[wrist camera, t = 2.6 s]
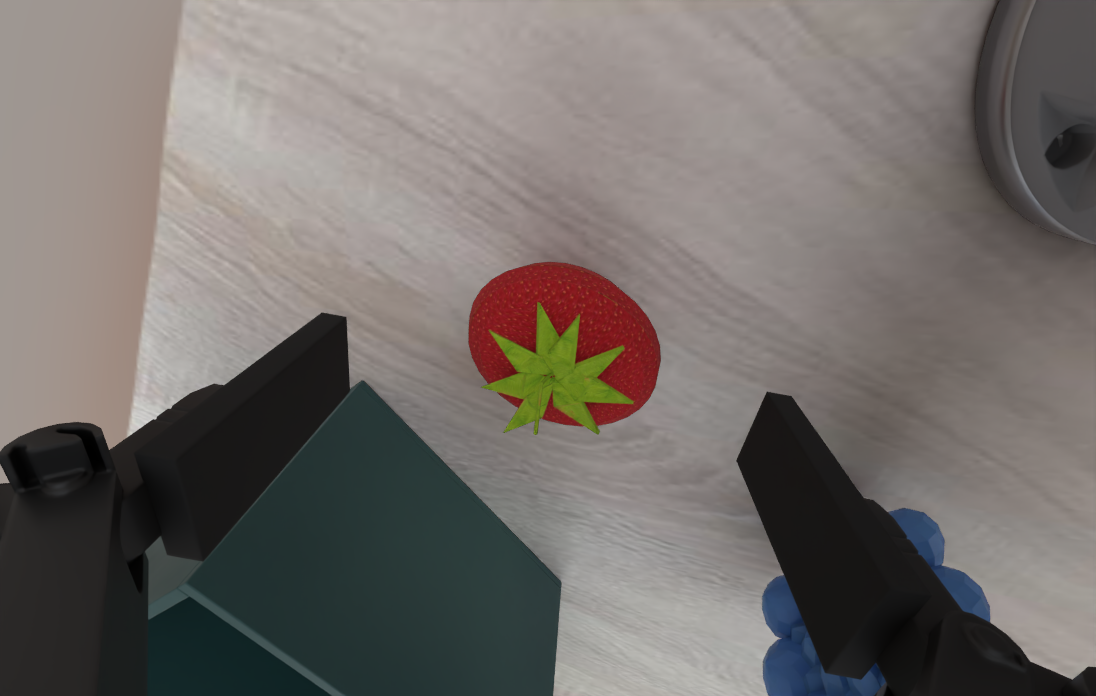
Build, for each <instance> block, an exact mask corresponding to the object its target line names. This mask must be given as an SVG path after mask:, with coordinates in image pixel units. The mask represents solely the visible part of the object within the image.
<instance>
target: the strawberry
mask: <svg viewBox="0 0 1096 696" xmlns="http://www.w3.org/2000/svg"><path fill="white" fill-rule="evenodd" d="M469 347H470V351H471V355H472V358H473V360H474V362H475V364H476V366H477V368H478V370H479V372H480V373H481V375H482V376H483V377H484V379H485V380H486V381H487V383H488V385H485V386H483V387H482V388H485V389H489V390H492V391H496V392H497V393H498V394H499V395H500V396H502V397H503V398H504V399H506V400H507V401H509V402H510V403H511V404H513V405H514V406H516V407H518V410H517V412H516V413H515V415H514V416H513V418H512V420H511V421H510V423H509V424H508V426H507V427H506V429H505V431H504V432H503V433H505V432H507V431H510V430H512V429H515V428H518V427H520V426H523V425H525V424H528V423H530V422H533V421H535V425H534V433H533V434H535V435H537V433H538V425H539V419H541V418H542V419H544V420H547V421H551V422H555V423H559V424H564V425H573V426H585V427H587V428H588V429H590V430H591V431H593V432H594V433H596V434H599V432H600V431H599V429H598V427H597V426H599V425H604V424H609V423H614V422H616V421H619V420H621V419H624V418H626V417H628V416H630V415H631V414H633V413H634V412H636V411H637V410H639V409H640V408H641V407H642V406H643V405H644V404H645V403H646V402H647V400H648V399H649V398H650V396H651V394H652V392H653V390H654V388H655V385H656V381H657V376H658V371H659V366H660V362H661V356H660V344H659V341H658V338H657V335H656V331H655V329H654V328H653V326H652V324H651V322H650V320H649V319H648V317H647V315H646V314H645V313H644V312H643V311H642V309H641V308H640V307H639V306H638V305H637V304H636V302H635V301H634V300H632V299H631V298H630V297H629V296H628V295H626V294H625V293H624V292H623V291H622V290H620V289H619V288H618V287H617V286H616V285H614V284H613V283H612V282H611V281H609V280H607V279H606V278H604V277H602V276H601V275H599V274H597V273H595V272H593V271H590V270H588V269H585V268H583V267H579V266H575V265H571V264H567V263H557V262H544V263H534V264H530V265H527V266H523V267H519V268H516V269H513V270H509V271H506V272H504V273H503V274H501V275H499V276H497V277H495V278H494V279H492V280H491V281H490V282H489V283H488V284H487V285H486V286H484V287H483V288H482V289H481V290H480V292H479V294H478V295H477V297H476V299H475V300H474V302H473V305H472V309H471V313H470V318H469Z"/></svg>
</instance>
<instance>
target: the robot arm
mask: <svg viewBox="0 0 1096 696" xmlns="http://www.w3.org/2000/svg"><path fill="white" fill-rule="evenodd" d="M975 123H976V130H977V138H978V144H979V147H980V151H981V155H982V159H983V162H984V164H985V166H986V169H987V171H988V174H989V176H990V178H991V179H992V181H993V183H994V185H995V186H996V188H997V190H998V191H999V192H1000V194H1001V195H1002V196H1003V197H1004V199H1005V200H1006V201H1007V202H1008V203H1009V204H1010V205H1011V206H1012V207H1013V208H1014V209H1015V210H1016V211H1017V212H1018V213H1019V214H1021V215H1022V216H1024V217H1025V218H1026V219H1028V220H1029V221H1031V222H1032V223H1034V224H1036V225H1038V226H1040V227H1042V228H1044V229H1045V230H1047V231H1050V232H1053V233H1055V234H1058V235H1061V236H1064V237H1067V238H1071V239H1075V240H1078V241H1082V242H1086V243H1090V244H1094V245H1096V0H1000V1H999V3H998V5H997V8H996V11H995V14H994V16H993V19H992V22H991V25H990V27H989V30H988V34H987V37H986V41H985V44H984V48H983V52H982V55H981V61H980V66H979V72H978V77H977V86H976V97H975ZM349 392H350V382H349V361H348V341H347V320H346V317H344V316H338V315H333V314H327V313H321V314H319V315H318V316H317V317H315V318H314V319H313V320H311V321H310V322H309V323H307V324H306V325H305V326H303V327H302V328H301V329H299V330H298V331H297V332H295V333H294V334H293V335H291V336H290V337H288V338H287V339H286V340H284V341H283V342H282V343H280V344H279V345H278V346H276V347H275V348H274V349H272V350H271V351H270V352H268V353H267V354H266V355H264V356H263V357H262V358H260V359H259V360H258V361H256V362H255V363H254V364H252V365H251V366H250V367H248V368H247V369H246V370H244V371H243V372H242V373H240V374H239V375H238V376H236V377H235V378H233V379H232V380H231V381H229V382H228V383H227V384H225V385H218V384H212V385H210V386H207V387H205V388H202V389H200V390H197V391H195V392H192V393H190V394H189V395H187V396H186V397H184V398H183V399H181V400H180V401H179V402H177V403H176V404H174V405H173V406H172V408H171V409H167V410H166V411H164V412H163V413H162V414H160V415H159V416H157V419H156V420H154V419H153V420H152V421H150V422H149V423H147V424H146V425H144V426H143V427H142V428H140V429H139V430H137V431H136V432H134V433H133V434H132V435H130V436H129V437H127V438H126V439H125V440H123V441H122V442H120V443H119V444H117V445H116V446H115V447H113V448H112V449H110V450H109V449H108V446H107V443H106V440H105V438H104V435H103V432H102V429H101V428H100V427H98V426H96V425H94V424H91V423H81V422H73V423H63V424H56V425H52V426H48V427H44V428H40V429H37V430H34V431H32V432H30V433H27V434H25V435H23V436H20V437H18V438H17V439H15V440H14V441H12V442H11V443H9V444H7V445H6V446H5V447H4V448H3V449H2V450H1V451H0V464H1V466H2V468H3V470H4V472H5V474H6V476H7V478H8V480H9V482H10V483H3V484H0V696H147V675H148V586H149V561H148V558H147V555H146V553H145V551H146V550H147V549H148V548H149V547H150V546H151V545H152V544H153V543H154V542H155V541H156V540H157V539H158V538H159V537H160V536H161V538H162V541H163V544H164V547H165V550H166V553H167V555H169V556H174V557H180V558H185V559H191V560H196V561H202V562H203V561H204V560H205V559H206V558H207V557H208V556H209V554H210V553H211V552H212V551H213V550H214V549H215V548H216V546H217V545H218V544H219V543H220V542H221V541H222V539H223V538H224V537H225V536H226V535H227V534H228V532H229V531H230V530H231V529H232V528H233V527H234V525H235V524H236V523H237V522H238V521H239V520H240V519H241V517H242V516H243V515H244V514H245V513H246V512H247V510H248V509H249V508H250V507H251V506H252V505H253V503H254V502H255V501H256V500H257V499H258V498H259V496H260V495H261V494H262V493H263V492H264V491H265V490H266V488H267V487H268V486H269V485H270V484H271V483H272V481H273V480H274V479H275V478H276V477H277V476H278V474H279V473H280V472H281V471H282V470H283V469H284V467H285V466H286V465H287V464H288V463H289V462H290V461H291V459H292V458H293V457H294V456H295V455H296V454H297V452H298V451H299V450H300V449H301V448H302V447H303V445H304V444H305V443H306V442H307V441H308V440H309V438H310V437H311V436H312V435H313V434H314V433H315V432H316V430H317V429H318V428H319V427H320V426H321V425H322V423H323V422H324V421H325V420H326V419H327V418H328V416H329V415H330V414H331V413H332V412H333V411H334V409H335V408H336V407H337V406H338V405H339V404H340V403H341V401H342V400H343V399H344V398H345V397H346V396H347V394H348V393H349ZM736 461H737V463H738V466H739V468H740V470H741V473H742V475H743V478H744V480H745V482H746V485H747V487H748V490H749V492H750V494H751V497H752V499H753V502H754V504H755V506H756V509H757V511H758V514H759V516H760V518H761V521H762V523H763V526H764V528H765V530H766V533H767V535H768V538H769V540H770V542H771V545H772V547H773V550H774V552H775V554H776V557H777V559H778V562H779V564H780V566H781V569H782V571H783V574H784V576H785V578H786V581H787V583H788V586H789V588H790V590H791V593H792V595H793V598H794V600H795V602H796V605H797V607H798V610H799V612H800V614H801V617H802V619H803V622H804V624H805V626H806V629H807V631H808V634H809V636H810V638H811V641H812V643H813V646H814V648H815V650H816V653H817V655H818V658H819V660H820V662H821V665H822V667H823V670H824V672H825V673H827V674H832V675H838V676H843V677H849V678H854V679H860V680H862V678H863V677H864V676H865V675H866V674H867V673H868V671H869V670H870V669H871V668H872V667H873V665H874V664H875V663H877V665H878V667H879V669H880V671H881V673H882V675H883V677H884V679H885V681H886V682H885V684H884V685H883V686H882V687H881V688H880V689H879V690H878V691H877V693H876V694H875V695H874V696H1096V667H1087V668H1086V669H1085V670H1084V671H1083V672H1081V673H1080V674H1079V675H1078V676H1076V677H1075V678H1074V679H1073V680H1072V679H1069V678H1067V677H1065V676H1063V675H1060V674H1058V673H1056V672H1053V671H1051V670H1049V669H1046V668H1044V667H1042V666H1039V665H1037V664H1035V663H1032V662H1030V661H1029V659H1028V658H1027V657H1026V655H1025V654H1024V652H1023V651H1022V650H1021V648H1020V647H1019V646H1018V645H1017V644H1016V643H1015V642H1014V641H1013V640H1012V639H1011V638H1010V637H1009V636H1008V635H1006V634H1005V633H1004V632H1002V631H1001V630H1000V629H998V628H997V627H996V626H994V625H993V624H991V623H990V622H988V621H986V620H984V619H982V618H980V617H978V616H977V615H975V614H972V613H968V612H965V611H963V610H962V609H961V608H960V606H959V605H958V604H957V602H956V601H955V599H954V598H953V597H952V595H951V594H950V593H949V591H948V590H947V589H946V587H945V586H944V585H943V583H942V582H941V581H940V579H939V578H938V577H937V575H936V574H935V573H934V571H933V570H932V569H931V567H930V566H929V565H928V563H927V562H926V561H925V559H924V558H923V557H922V555H919V554H918V550H917V549H916V547H915V546H914V544H913V543H912V542H911V540H909V539H907V535H906V534H905V532H904V531H903V530H902V528H901V527H900V526H899V524H898V523H897V522H896V520H895V519H894V518H893V517H892V516H891V515H890V514H889V513H888V512H886V511H885V510H884V509H883V508H882V507H881V506H880V505H878V504H877V503H876V502H875V501H874V500H870V499H864V498H863V497H862V495H861V494H860V493H859V491H858V490H857V488H856V487H855V486H854V484H853V483H852V481H851V480H850V478H849V477H848V476H847V474H846V473H845V471H844V470H843V469H842V467H841V466H840V464H839V463H838V461H837V460H836V459H835V457H834V456H833V454H832V453H831V452H830V450H829V449H828V447H827V446H826V444H825V443H824V442H823V440H822V439H821V437H820V436H819V434H818V433H817V432H816V430H815V429H814V427H813V426H812V425H811V423H810V422H809V420H808V419H807V417H806V416H805V415H804V413H803V412H802V410H801V409H800V408H799V406H798V405H797V403H796V402H795V400H794V399H793V398H792V396H788V395H782V394H777V393H771V392H767V393H766V395H765V397H764V399H763V402H762V404H761V406H760V408H759V411H758V413H757V415H756V417H755V420H754V422H753V424H752V426H751V429H750V431H749V433H748V435H747V438H746V440H745V442H744V444H743V447H742V449H741V451H740V453H739V456H738V458H737V460H736Z"/></svg>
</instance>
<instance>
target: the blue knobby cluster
mask: <svg viewBox="0 0 1096 696" xmlns="http://www.w3.org/2000/svg"><path fill="white" fill-rule="evenodd" d="M889 514H890V515H891V516H892V517H893V518H894V519H895V520H896V522H897V523H898V524H899V526H900V527H901V528H902V530H903V531H904V532H905V534H906V535H907V539H909V540H911V542H912V543H913V544H914V546H915V547H916V549H917V550H918V554H919V555H922V557H923V558H924V559H925V561H926V562H927V563H928V565H929V566H930V567H931V569H932V570H933V571H934V573H935V574H936V575H937V577H938V578H939V579H940V581H941V582H942V583H943V585H944V586H945V587H946V589H947V590H948V591H949V593H950V594H951V595H952V597H953V598H954V599H955V601H956V602H957V604H958V605H959V606H960V608H961V609H962V610H963V611H965V612H968V613H972V614H975V615H977V616H978V617H980V618H982V619H984V620H986V621H988V622H990V606H989V604H988V602H987V599H986V597H985V595H984V593H983V591H982V588H981V587H980V586H979V585H978V584H977V583H975V582H974V581H973V580H972V579H971V578H970V577H969V576H968V575H966V574H965V573H964V572H961V571H959V570H956V569H953V568H949V567H946V566H942V565H941V564H942V563H943V559H944V543H945V540H944V538H943V535H942V533H941V531H940V529H939V526H938V524H937V523H935V522H934V521H933V520H932V519H931V518H930V517H928V516H927V515H926V514H925V513H923V512H919V511H915V510H911V509H906V508H902V509H898V510H894V511H890V512H889ZM762 610H763V614H764V617H765V620H766V624H767V625H768V627H769V628H770V629H771V630H772V632H773V633H774V634H775V636H777V637H779V638H782V639H778V640H777V641H776V642H775V643H774V644H773V645H772V646H770V647H769V649H768V651H767V653H766V655H765V658H764V660H763V679H764V683H765V686H766V690H767V693H768V695H769V696H874V695H875V694H876V693H877V691H878V690H879V689H880V688H881V687H882V686H883V685H884V684H885V682H886V681H885V679H884V677H883V675H882V673H881V671H880V669H879V667H878V665H877V663H875V664H874V665H873V667H872V668H871V669H870V670H869V671H868V673H867V674H866V675H865V676H864V677H863V678H862V680H860V679H854V678H849V677H843V676H838V675H832V674H827V673H825V672H824V670H823V667H822V665H821V662H820V660H819V658H818V655H817V653H816V650H815V648H814V646H813V643H812V641H811V638H810V636H809V634H808V631H807V629H806V626H805V624H804V622H803V619H802V617H801V614H800V612H799V610H798V607H797V605H796V602H795V600H794V598H793V595H792V593H791V590H790V588H789V586H788V583H787V581H786V578H785V576H784V575H783V576H779V577H776V578H775V579H773V580H772V581H771V582H770V583H769V584H768V585H767V587H766V589H765V591H764V593H763V596H762Z"/></svg>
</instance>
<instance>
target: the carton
mask: <svg viewBox="0 0 1096 696" xmlns="http://www.w3.org/2000/svg"><path fill="white" fill-rule="evenodd" d="M145 553H146V555H147V558H148V561H149V586H148V675H147V696H553V688H554V675H555V662H556V648H557V635H558V622H559V609H560V595H561V581H560V580H559V579H558V578H557V577H556V576H555V575H554V574H553V573H552V572H551V571H550V570H549V569H548V568H547V567H546V566H545V565H544V564H543V563H542V562H541V561H540V560H539V559H538V558H537V557H536V556H535V555H534V554H533V553H532V552H531V551H530V550H529V549H528V548H527V547H526V546H525V545H524V544H523V543H522V542H521V541H520V540H519V539H518V538H517V537H516V536H515V535H514V534H513V533H512V532H511V531H510V530H509V528H508V527H507V526H506V525H505V524H504V523H503V522H502V521H501V520H500V519H499V518H498V517H497V516H496V515H495V514H494V513H493V512H492V511H491V510H490V509H489V508H488V507H487V506H486V505H485V504H484V503H483V502H482V501H481V500H480V499H479V498H478V497H477V496H476V495H475V494H474V493H473V492H472V491H471V490H470V489H469V488H468V487H467V486H466V485H465V484H464V483H463V482H462V481H461V480H460V479H459V478H458V477H457V476H456V475H455V473H454V472H453V471H452V470H451V469H450V468H449V467H448V466H447V465H446V464H445V463H444V462H443V461H442V460H441V459H440V458H439V457H438V456H437V455H436V454H435V453H434V452H433V451H432V450H431V449H430V448H429V447H428V446H427V445H426V444H425V443H424V442H423V441H422V440H421V439H420V438H419V437H418V436H417V435H416V434H415V433H414V432H413V431H412V430H411V429H410V428H409V427H408V426H407V425H406V424H405V423H404V422H403V421H402V420H401V418H400V417H399V416H398V415H397V414H396V413H395V412H394V411H393V410H392V409H391V408H390V407H389V406H388V405H387V404H386V403H385V402H384V401H383V400H382V399H381V398H380V397H379V396H378V395H377V394H376V393H375V392H374V391H373V390H372V389H371V388H370V387H369V386H368V385H367V384H366V383H365V382H364V381H361V382H359V383H358V384H356V385H355V386H354V387H352V388H351V389H350V392H349V393H348V394H347V396H346V397H345V398H344V399H343V400H342V401H341V403H340V404H339V405H338V406H337V407H336V408H335V409H334V411H333V412H332V413H331V414H330V415H329V416H328V418H327V419H326V420H325V421H324V422H323V423H322V425H321V426H320V427H319V428H318V429H317V430H316V432H315V433H314V434H313V435H312V436H311V437H310V438H309V440H308V441H307V442H306V443H305V444H304V445H303V447H302V448H301V449H300V450H299V451H298V452H297V454H296V455H295V456H294V457H293V458H292V459H291V461H290V462H289V463H288V464H287V465H286V466H285V467H284V469H283V470H282V471H281V472H280V473H279V474H278V476H277V477H276V478H275V479H274V480H273V481H272V483H271V484H270V485H269V486H268V487H267V488H266V490H265V491H264V492H263V493H262V494H261V495H260V496H259V498H258V499H257V500H256V501H255V502H254V503H253V505H252V506H251V507H250V508H249V509H248V510H247V512H246V513H245V514H244V515H243V516H242V517H241V519H240V520H239V521H238V522H237V523H236V524H235V525H234V527H233V528H232V529H231V530H230V531H229V532H228V534H227V535H226V536H225V537H224V538H223V539H222V541H221V542H220V543H219V544H218V545H217V546H216V548H215V549H214V550H213V551H212V552H211V553H210V554H209V556H208V557H207V558H206V559H205V560H204V561H203V562H202V561H196V560H191V559H185V558H180V557H174V556H169V555H167V553H166V550H165V547H164V544H163V541H162V538H161V536H160V537H159V538H158V539H157V540H156V541H155V542H154V543H153V544H152V545H151V546H150V547H149V548H148V549H147V550H146V551H145Z"/></svg>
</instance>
